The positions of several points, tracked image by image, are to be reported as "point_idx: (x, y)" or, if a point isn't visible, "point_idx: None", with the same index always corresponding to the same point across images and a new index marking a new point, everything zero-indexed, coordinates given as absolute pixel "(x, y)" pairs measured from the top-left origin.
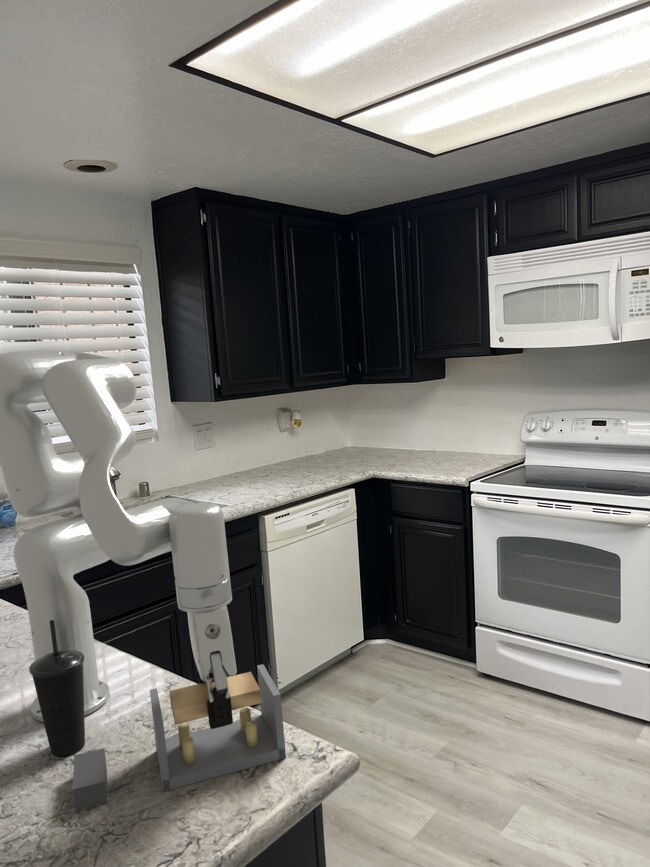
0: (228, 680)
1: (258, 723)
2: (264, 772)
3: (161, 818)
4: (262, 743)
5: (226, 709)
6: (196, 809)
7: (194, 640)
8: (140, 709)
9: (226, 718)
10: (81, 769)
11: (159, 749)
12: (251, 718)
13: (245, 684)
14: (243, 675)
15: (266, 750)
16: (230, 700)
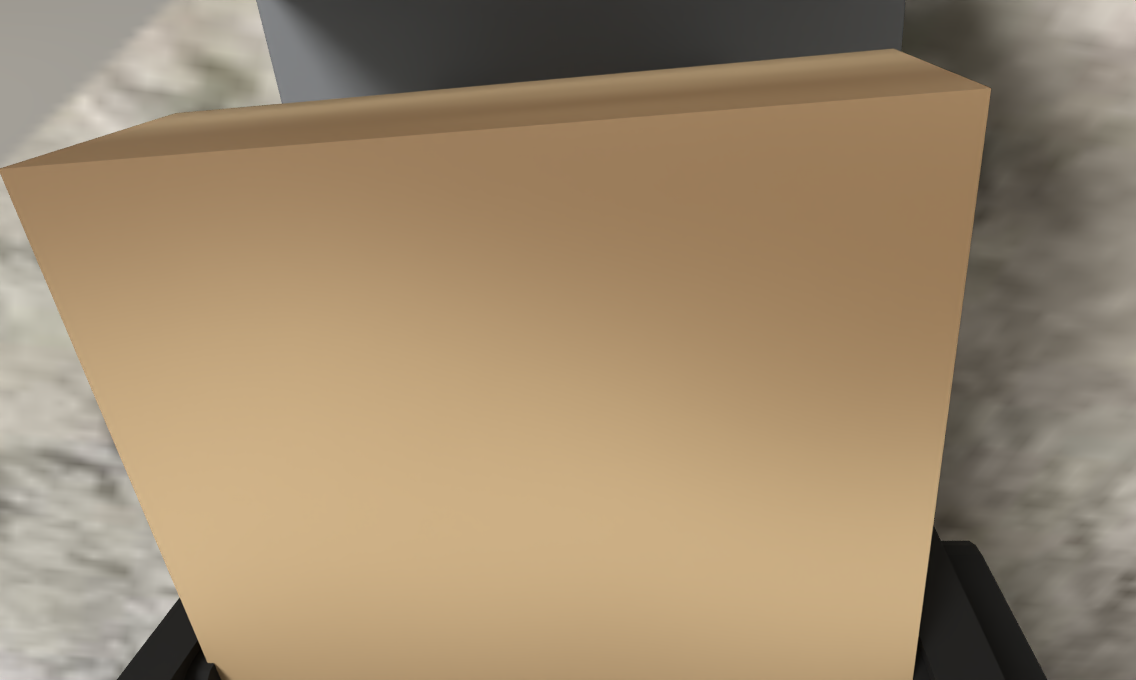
0: (299, 591)
1: (391, 17)
2: (988, 55)
3: (1057, 662)
4: (736, 30)
5: (1025, 648)
6: (1102, 518)
7: None
8: (12, 666)
9: (974, 561)
10: None
11: None
12: (293, 71)
13: (558, 365)
14: (153, 338)
15: (863, 9)
16: (988, 654)
